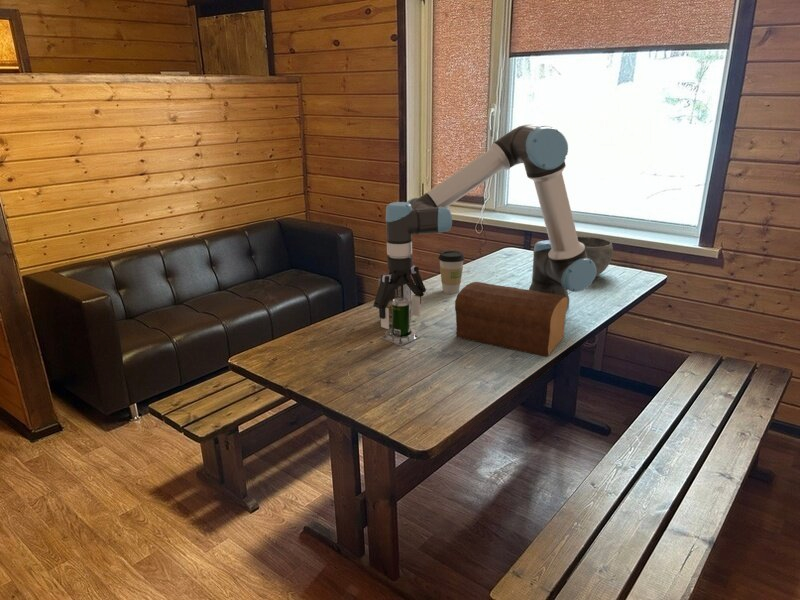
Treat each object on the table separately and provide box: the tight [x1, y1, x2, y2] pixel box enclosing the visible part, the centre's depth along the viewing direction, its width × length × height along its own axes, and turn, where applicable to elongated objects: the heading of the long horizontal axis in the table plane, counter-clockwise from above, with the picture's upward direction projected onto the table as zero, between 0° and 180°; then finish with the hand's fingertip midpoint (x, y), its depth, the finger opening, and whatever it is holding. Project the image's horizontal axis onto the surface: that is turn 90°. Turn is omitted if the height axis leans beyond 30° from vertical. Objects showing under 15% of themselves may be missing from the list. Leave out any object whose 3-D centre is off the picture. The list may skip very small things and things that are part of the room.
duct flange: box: [380, 327, 422, 347], centre depth 181 cm, size 9×9×2 cm
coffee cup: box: [438, 250, 465, 295], centre depth 220 cm, size 10×10×15 cm
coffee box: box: [378, 272, 412, 326], centre depth 191 cm, size 9×6×16 cm
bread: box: [454, 281, 568, 357], centre depth 178 cm, size 18×30×16 cm, turn 59°
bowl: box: [577, 235, 614, 277], centre depth 235 cm, size 21×21×15 cm
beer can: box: [391, 297, 411, 337], centre depth 180 cm, size 5×5×12 cm
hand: (401, 321), depth 180 cm, fingers open, 13 cm apart
